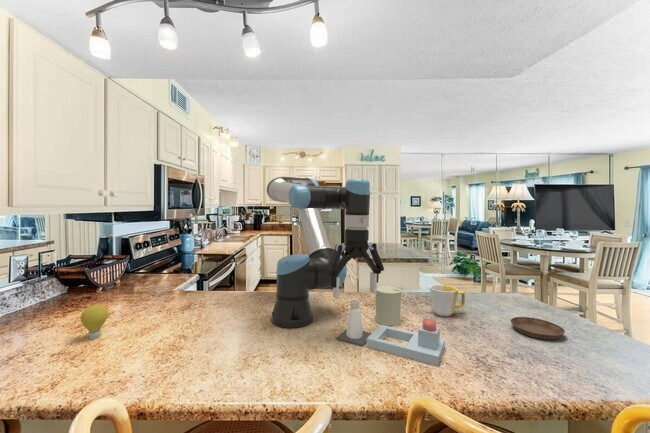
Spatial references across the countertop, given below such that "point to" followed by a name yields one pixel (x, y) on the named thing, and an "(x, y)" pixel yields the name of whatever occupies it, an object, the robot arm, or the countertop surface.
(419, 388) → the countertop surface
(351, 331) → the pepper shaker
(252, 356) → the countertop surface
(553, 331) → the saucer
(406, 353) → the frame
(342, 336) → the mat
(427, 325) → the plunger
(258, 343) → the countertop surface
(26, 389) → the countertop surface
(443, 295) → the mug
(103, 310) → the light bulb
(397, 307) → the can
